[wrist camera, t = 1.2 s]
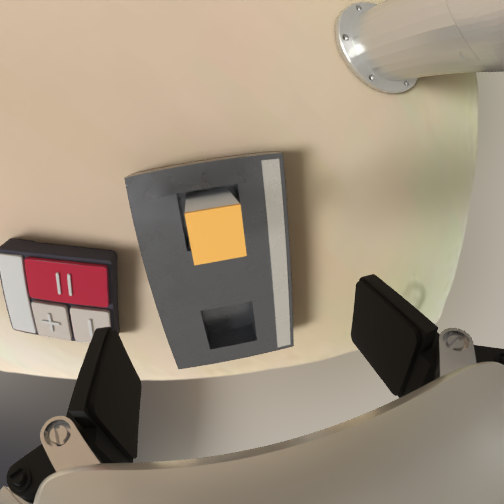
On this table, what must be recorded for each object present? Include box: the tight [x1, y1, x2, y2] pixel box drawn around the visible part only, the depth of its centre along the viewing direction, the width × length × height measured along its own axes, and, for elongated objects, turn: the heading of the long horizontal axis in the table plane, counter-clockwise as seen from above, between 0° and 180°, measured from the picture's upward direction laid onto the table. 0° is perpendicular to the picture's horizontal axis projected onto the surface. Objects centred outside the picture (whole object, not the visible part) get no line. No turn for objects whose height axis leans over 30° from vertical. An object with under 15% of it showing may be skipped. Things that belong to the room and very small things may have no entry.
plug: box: [185, 188, 247, 265], centre depth 24 cm, size 4×4×8 cm
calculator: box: [0, 238, 119, 343], centre depth 26 cm, size 11×4×15 cm
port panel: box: [125, 151, 294, 369], centre depth 29 cm, size 14×22×4 cm, turn 6°
